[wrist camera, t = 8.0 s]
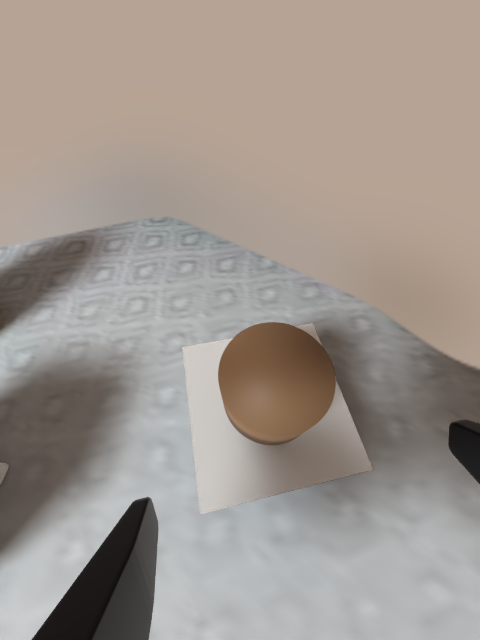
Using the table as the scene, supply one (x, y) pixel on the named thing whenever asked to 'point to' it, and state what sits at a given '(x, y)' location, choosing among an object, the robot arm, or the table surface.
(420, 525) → the table surface
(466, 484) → the table surface
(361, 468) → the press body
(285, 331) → the plunger
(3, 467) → the supplement box
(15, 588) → the table surface
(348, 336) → the table surface
